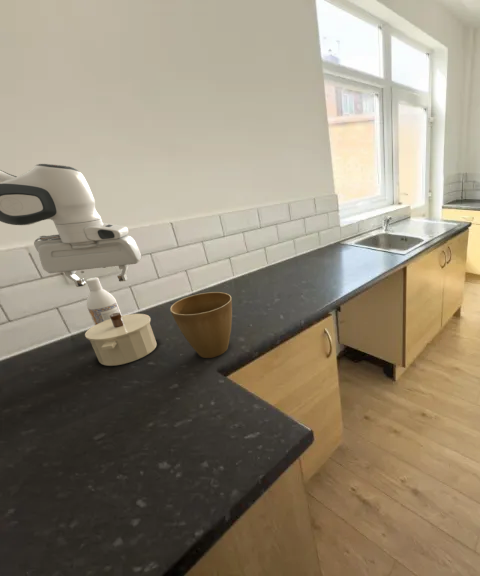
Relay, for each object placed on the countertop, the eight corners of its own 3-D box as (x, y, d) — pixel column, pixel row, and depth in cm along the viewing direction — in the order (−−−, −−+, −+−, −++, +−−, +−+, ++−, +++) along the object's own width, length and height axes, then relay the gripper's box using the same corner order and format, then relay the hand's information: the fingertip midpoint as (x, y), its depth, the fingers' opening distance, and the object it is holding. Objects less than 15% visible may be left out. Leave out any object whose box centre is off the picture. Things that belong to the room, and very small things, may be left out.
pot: (85, 376, 83) (72, 349, 80) (115, 341, 100) (105, 317, 97) (145, 365, 88) (136, 338, 84) (164, 333, 104) (157, 309, 101)
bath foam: (102, 335, 104) (78, 278, 96) (128, 329, 107) (107, 273, 100) (100, 344, 98) (74, 284, 91) (128, 337, 102) (105, 279, 94)
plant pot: (183, 372, 84) (165, 319, 78) (188, 345, 97) (173, 297, 91) (243, 357, 90) (231, 306, 84) (241, 334, 102) (230, 288, 96)
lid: (75, 347, 82) (67, 331, 80) (100, 322, 95) (95, 308, 93) (142, 336, 87) (136, 321, 85) (157, 313, 100) (153, 300, 98)
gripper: (22, 239, 74) (47, 293, 80) (125, 230, 81) (142, 281, 86) (38, 234, 80) (61, 285, 85) (134, 226, 86) (150, 274, 91)
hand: (103, 283), depth 86 cm, fingers open, 8 cm apart
